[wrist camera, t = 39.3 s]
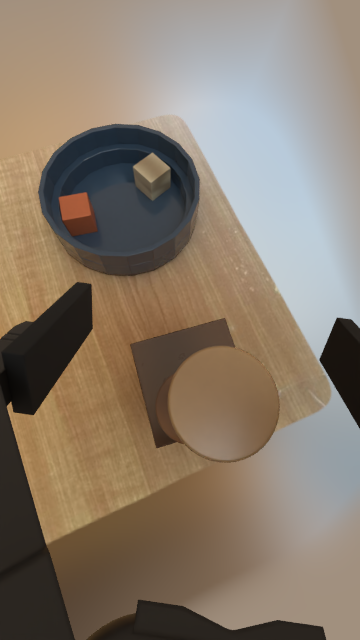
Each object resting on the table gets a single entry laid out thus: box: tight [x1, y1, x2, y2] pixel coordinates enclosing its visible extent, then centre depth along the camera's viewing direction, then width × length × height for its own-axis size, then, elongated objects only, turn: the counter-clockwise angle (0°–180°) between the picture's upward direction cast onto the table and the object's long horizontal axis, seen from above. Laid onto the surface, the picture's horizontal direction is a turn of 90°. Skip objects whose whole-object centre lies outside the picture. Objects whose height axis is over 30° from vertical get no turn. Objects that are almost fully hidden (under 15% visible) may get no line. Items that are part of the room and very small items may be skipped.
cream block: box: [133, 153, 171, 201], centre depth 40 cm, size 4×4×4 cm
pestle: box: [155, 346, 280, 462], centre depth 15 cm, size 5×5×15 cm
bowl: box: [38, 124, 200, 275], centre depth 38 cm, size 19×19×6 cm
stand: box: [130, 318, 235, 448], centre depth 28 cm, size 8×8×12 cm
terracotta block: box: [59, 192, 98, 236], centre depth 38 cm, size 4×4×4 cm
